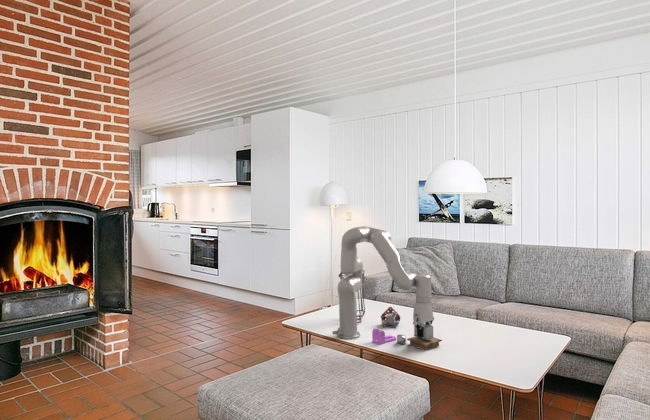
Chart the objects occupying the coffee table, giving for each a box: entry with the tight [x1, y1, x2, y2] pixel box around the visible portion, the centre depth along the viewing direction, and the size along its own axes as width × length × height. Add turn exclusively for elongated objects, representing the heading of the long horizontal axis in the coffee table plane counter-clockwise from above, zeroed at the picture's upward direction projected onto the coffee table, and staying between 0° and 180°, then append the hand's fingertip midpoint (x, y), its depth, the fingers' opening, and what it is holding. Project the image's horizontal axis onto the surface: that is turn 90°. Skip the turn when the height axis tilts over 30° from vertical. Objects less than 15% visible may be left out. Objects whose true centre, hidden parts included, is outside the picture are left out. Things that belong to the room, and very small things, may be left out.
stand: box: [406, 336, 443, 351], centre depth 210 cm, size 12×12×3 cm
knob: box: [396, 334, 407, 346], centre depth 214 cm, size 4×4×4 cm
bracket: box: [371, 327, 397, 346], centre depth 218 cm, size 13×6×7 cm, turn 124°
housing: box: [413, 323, 435, 340], centre depth 211 cm, size 9×5×6 cm, turn 35°
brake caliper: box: [380, 306, 401, 329], centre depth 245 cm, size 11×11×12 cm
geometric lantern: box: [338, 269, 366, 324], centre depth 257 cm, size 16×16×35 cm
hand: (423, 335), depth 210 cm, fingers closed on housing, 5 cm apart
